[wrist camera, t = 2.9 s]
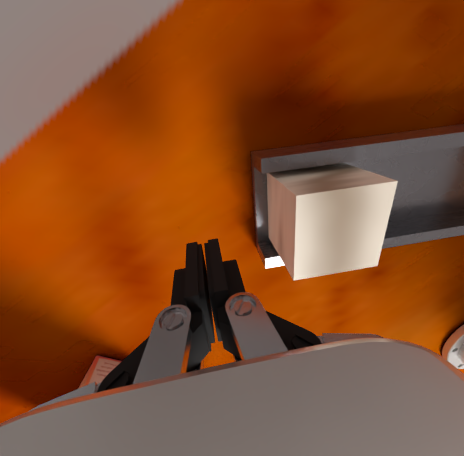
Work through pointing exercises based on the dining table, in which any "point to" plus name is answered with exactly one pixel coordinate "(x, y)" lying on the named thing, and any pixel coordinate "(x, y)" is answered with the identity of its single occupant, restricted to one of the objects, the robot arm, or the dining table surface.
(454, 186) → the grey shallow tray
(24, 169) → the dining table surface
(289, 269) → the block
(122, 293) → the dining table surface
